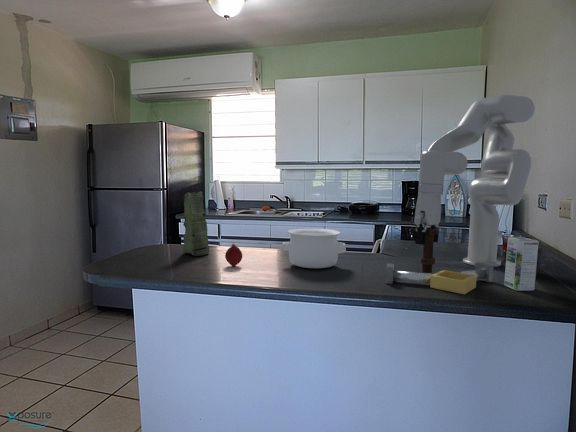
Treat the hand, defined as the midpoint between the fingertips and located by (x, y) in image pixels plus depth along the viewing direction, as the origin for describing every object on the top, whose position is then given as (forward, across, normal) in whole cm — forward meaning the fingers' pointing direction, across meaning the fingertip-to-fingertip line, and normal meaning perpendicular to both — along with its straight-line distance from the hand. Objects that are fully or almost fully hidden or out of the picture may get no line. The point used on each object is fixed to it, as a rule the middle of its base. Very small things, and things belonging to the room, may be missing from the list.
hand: (426, 242), depth 127 cm
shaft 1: (+11, +14, +2) cm, 18 cm away
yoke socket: (+10, +9, +12) cm, 19 cm away
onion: (+12, +37, -52) cm, 65 cm away
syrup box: (+10, -4, +26) cm, 28 cm away
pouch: (+12, +34, -79) cm, 87 cm away
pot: (+11, +17, -33) cm, 39 cm away
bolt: (+10, -1, 0) cm, 11 cm away
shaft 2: (+10, 0, +14) cm, 17 cm away
